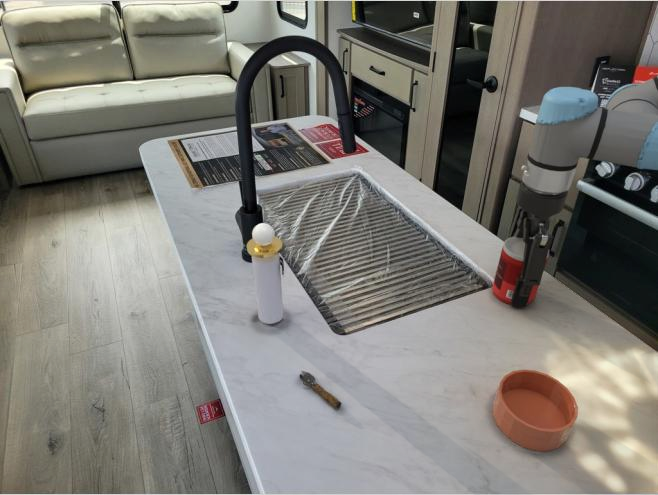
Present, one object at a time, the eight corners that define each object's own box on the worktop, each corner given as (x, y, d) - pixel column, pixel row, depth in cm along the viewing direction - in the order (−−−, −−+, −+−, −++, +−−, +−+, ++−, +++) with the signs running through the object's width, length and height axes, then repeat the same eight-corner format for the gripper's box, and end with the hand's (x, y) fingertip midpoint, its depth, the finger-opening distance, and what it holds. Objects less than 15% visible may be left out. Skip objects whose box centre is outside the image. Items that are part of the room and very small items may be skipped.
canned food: (543, 300, 90) (559, 253, 84) (509, 311, 88) (523, 263, 82) (516, 277, 96) (529, 232, 90) (483, 286, 94) (494, 240, 87)
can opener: (342, 406, 70) (342, 401, 70) (330, 415, 69) (330, 410, 69) (305, 369, 76) (305, 365, 76) (293, 377, 75) (293, 372, 74)
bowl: (557, 392, 73) (565, 373, 70) (577, 455, 64) (588, 435, 62) (487, 386, 74) (493, 366, 71) (499, 446, 65) (506, 426, 63)
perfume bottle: (261, 333, 83) (251, 238, 72) (250, 313, 87) (239, 220, 76) (292, 322, 85) (286, 229, 74) (280, 303, 89) (273, 212, 78)
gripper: (509, 158, 87) (485, 258, 100) (535, 215, 71) (503, 326, 84) (551, 160, 87) (522, 261, 100) (588, 218, 70) (547, 330, 83)
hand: (513, 291), depth 92 cm, fingers closed on canned food, 8 cm apart
